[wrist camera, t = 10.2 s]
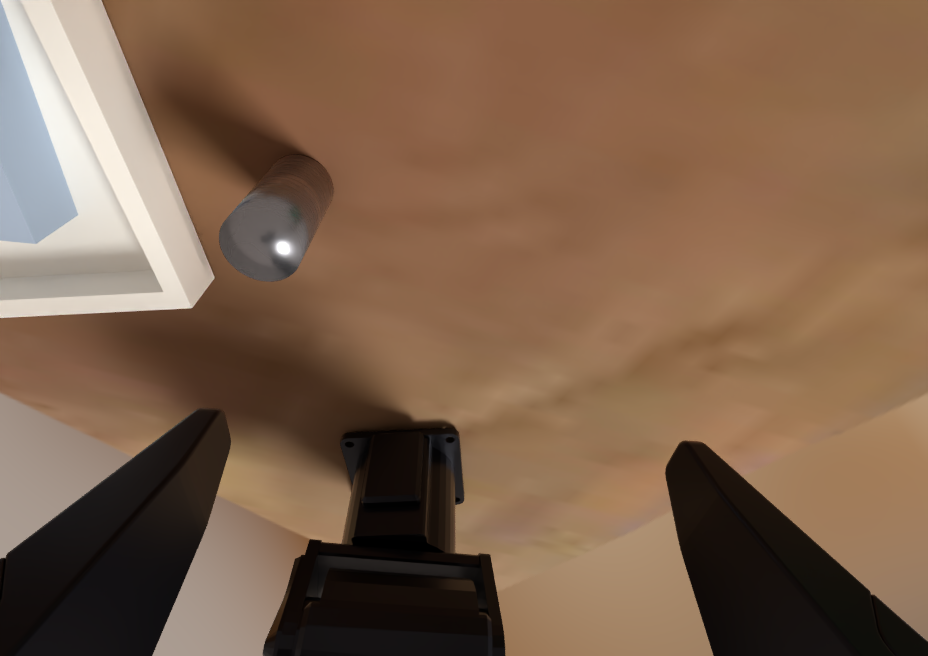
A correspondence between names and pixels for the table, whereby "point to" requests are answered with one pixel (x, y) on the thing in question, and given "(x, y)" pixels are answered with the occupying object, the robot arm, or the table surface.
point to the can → (277, 219)
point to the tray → (98, 179)
